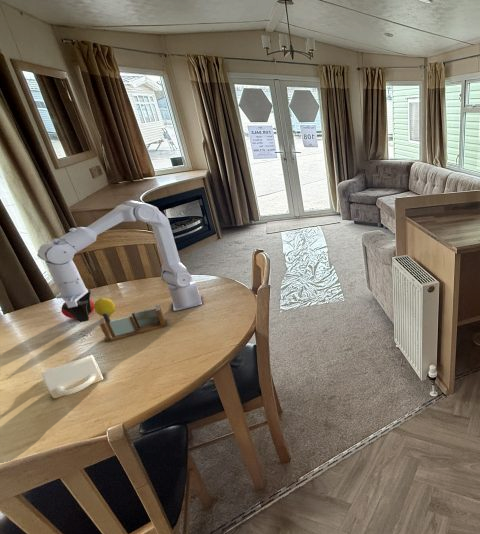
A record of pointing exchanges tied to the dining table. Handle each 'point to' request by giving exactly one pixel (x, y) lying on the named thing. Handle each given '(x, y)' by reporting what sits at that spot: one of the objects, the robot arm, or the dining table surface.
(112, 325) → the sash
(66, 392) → the white box with handle
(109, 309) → the lemon
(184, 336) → the dining table surface
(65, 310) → the tomato
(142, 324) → the window frame
